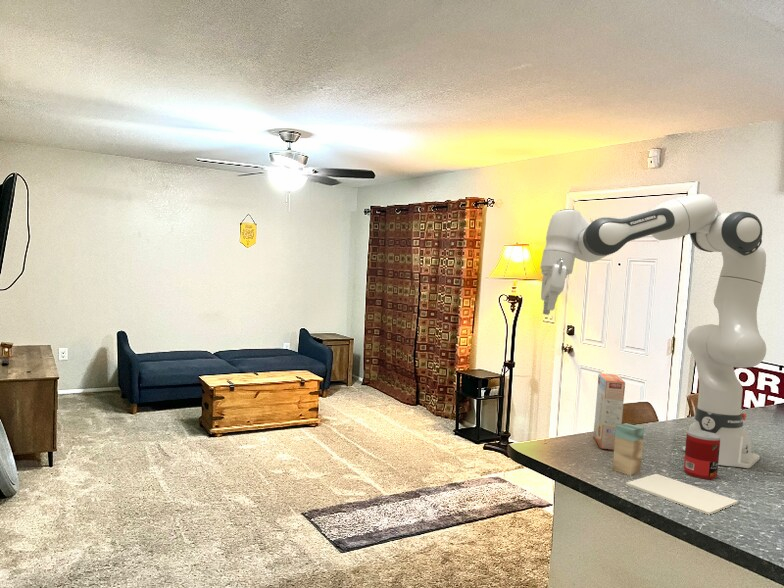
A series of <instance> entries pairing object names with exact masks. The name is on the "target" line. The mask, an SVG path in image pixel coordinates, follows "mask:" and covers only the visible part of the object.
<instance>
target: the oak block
mask: <svg viewBox="0 0 784 588" xmlns="http://www.w3.org/2000/svg"><path fill="white" fill-rule="evenodd" d="M644 433H645V428H644V427H642V426H638V425H635V424H631V423H626V422H625V423H622V424H620V425H616V431H615V444H614V450H613V460H612V470H613V471H616V472H617V471H618V472H617V473H620V472H622V473H621V474H623V473H624V474H623V475H626V474H627V476H629V475H631V476H634V475H637V473H638V474H640V473H641V471H642V469H641V468H642V459H643V446H644ZM633 474H634V475H633Z"/></svg>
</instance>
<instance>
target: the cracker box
mask: <svg viewBox="0 0 784 588" xmlns="http://www.w3.org/2000/svg"><path fill="white" fill-rule="evenodd" d="M625 389H626V382H625V381H624V380H623V379H622V378H620V377H619V376H618V375H617V374H613V373H601V372H599V373H598V377H597V389H596V401H595V403H596V404H595V413H594V415H595V416H594V425H593V434H592V435H593V438H594V440H595V442H596V444H597V445H598V447H599V449H601V450H602V449H603V450H607V449H608V451H614V444H615V431H616V425H620V424H623V423H622V422H623V412H624V401H625V392H626V391H625Z"/></svg>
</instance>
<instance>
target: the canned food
mask: <svg viewBox="0 0 784 588" xmlns="http://www.w3.org/2000/svg"><path fill="white" fill-rule="evenodd" d="M685 446H686V447H685V451H684V463H683V471H684V473H686V474H687V475H688V476H691V477H694V478H697V479H702V480H703V479H704V480H714V479H717V477H718V470H719V465H718V461H719V450H720V436H719V435H717V434H714V433H711V432H707V431H701V430H687V431H686V437H685Z"/></svg>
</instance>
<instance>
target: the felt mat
mask: <svg viewBox="0 0 784 588" xmlns="http://www.w3.org/2000/svg"><path fill="white" fill-rule="evenodd" d="M625 486H628V487H631V488H633V489H636V490H638V491H641V492H644V493H647V494H649V495H652V496H654V497H657V498H660V499H663V500H665V499H666V501H669V502H672V503H674V504H676V503H677V505H679V504H680V506H682V505H683V506H682V507H685V508H687V507H688V509H691V510H693V511H695V512H698V511H699V513H701V512H702V513H701V514H704V513H705V514H704V515H707V514H708V515H707V516H711V515H713V513H714V514H715V513H716V514H717V513H718V512H721V511H723V510H725V508H726V509H728V508H731V507H733V506H736V505H738V504H739V500H736V499H733V498H731V497H727V496H724V495H721V494H718V493H715V492H713V491H710V490H706V489H703V488H701V487H698V486H695V485H691V484H689V483H686V482H683V481H679V480H677V479H673V478H670V477H667V476H664V475H661V474H658V473H654V474H651V475H648V476H647V475H646V476H643V477H640V478H637V479H634V480H631V481H627V482H625ZM735 504H736V505H735ZM732 505H733V506H732ZM730 506H731V507H730ZM722 509H723V510H722ZM720 510H721V511H720ZM710 514H711V515H710Z"/></svg>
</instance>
